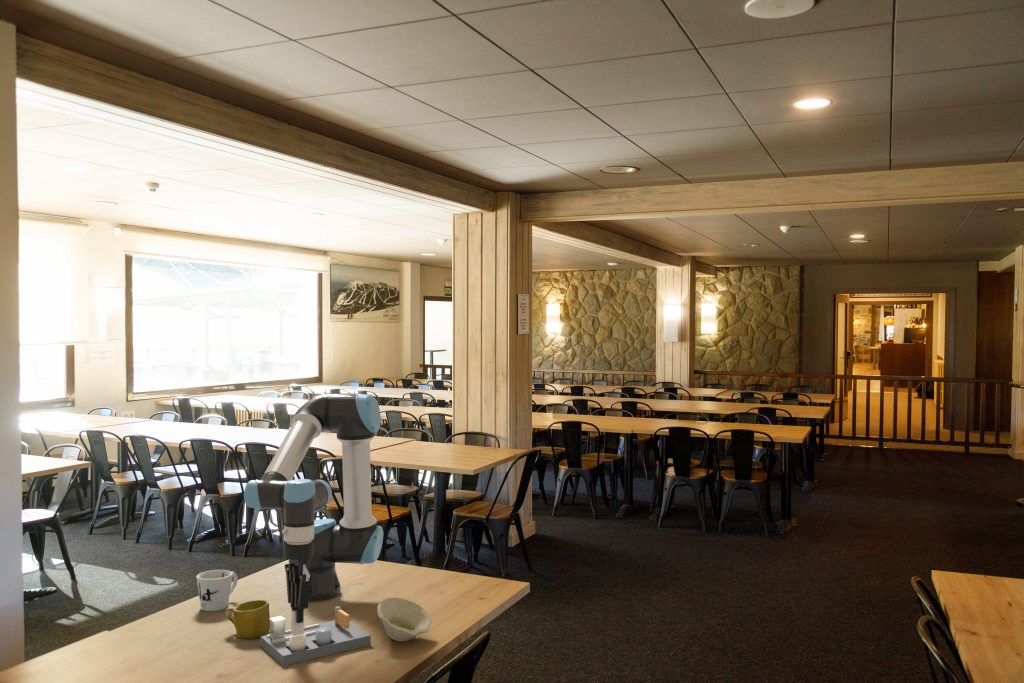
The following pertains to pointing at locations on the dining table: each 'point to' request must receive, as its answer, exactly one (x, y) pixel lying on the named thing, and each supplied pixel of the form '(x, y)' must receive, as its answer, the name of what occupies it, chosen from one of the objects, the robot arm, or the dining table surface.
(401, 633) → the bowl
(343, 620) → the paddle
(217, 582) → the mug
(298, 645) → the button ivory
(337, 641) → the panel
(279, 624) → the slider knob
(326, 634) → the button bluegrey
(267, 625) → the mug
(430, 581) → the dining table surface
